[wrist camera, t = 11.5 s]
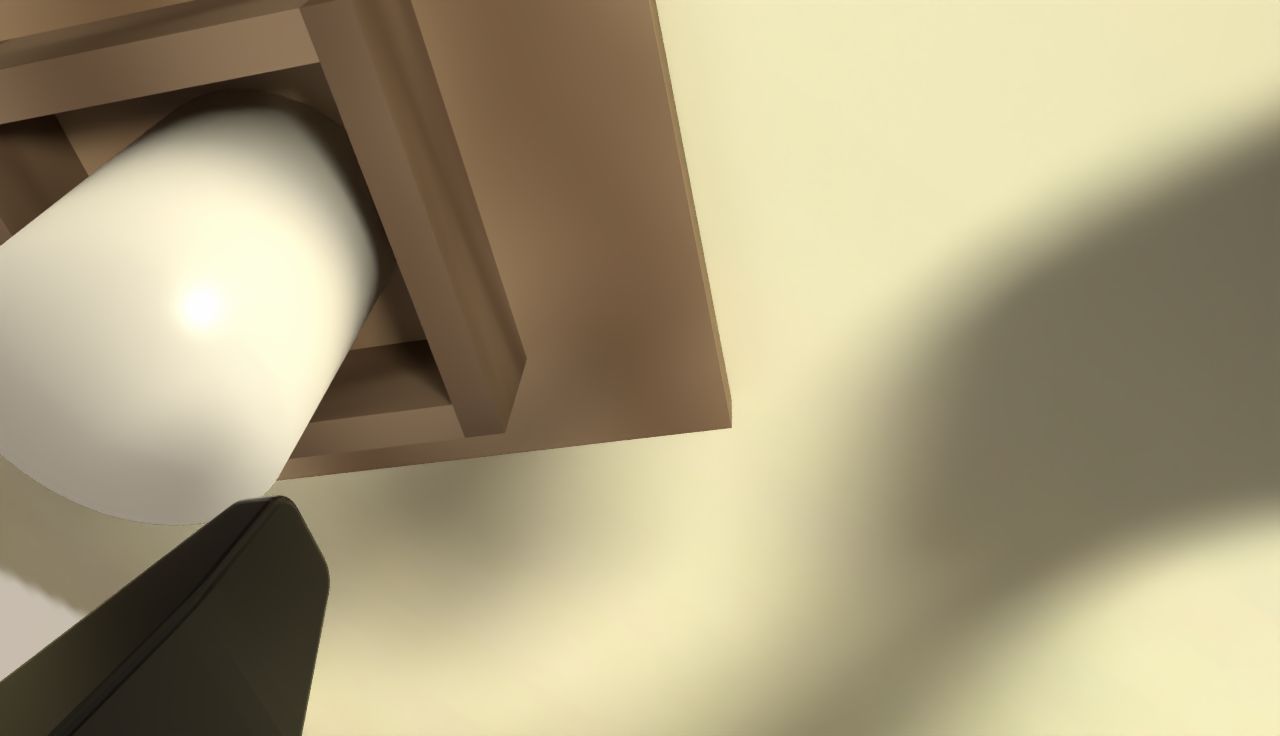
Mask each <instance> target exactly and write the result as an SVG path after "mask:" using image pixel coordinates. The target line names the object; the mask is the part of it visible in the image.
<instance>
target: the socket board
mask: <svg viewBox="0 0 1280 736" xmlns="http://www.w3.org/2000/svg"><path fill="white" fill-rule="evenodd" d="M228 89H253V90H259V91H266V92H271V93H275V94H279V95H282V96H286V97H289V98H291V99H294V100H296V101H299V102H301V103H304V104H306V105H308V106H310V107H312V108H313V109H315V110H317V111H319V112H321V113H323V114H324V115H326V116H327V117H329V118H330V119H332V120H333V121H334V122H336V123H337V124H339V125H340V126H341V127H342V128H343V129H345V130H346V131H347V134H348V136H349V139H350V142H351V144H352V147H353V149H354V152H355V155H356V157H357V160H358V162H359V165H360V167H361V170H362V173H363V175H364V178H365V180H366V183H367V186H368V188H369V191H370V193H371V196H372V199H373V201H374V204H375V206H376V209H377V211H378V214H379V217H380V219H381V222H382V224H383V227H384V230H385V232H386V235H387V237H388V240H389V242H390V245H391V248H392V250H393V253H394V255H395V258H396V264H395V267H394V270H393V272H392V274H391V276H390V278H389V280H388V282H387V284H386V285H385V287H384V289H383V291H382V293H381V294H380V296H379V298H378V300H377V301H376V303H375V305H374V307H373V309H372V310H371V312H370V314H369V316H368V318H367V319H366V321H365V323H364V325H363V326H362V328H361V330H360V332H359V334H358V335H357V337H356V339H355V341H354V343H353V344H352V346H351V348H350V350H349V351H348V353H347V355H346V357H345V359H344V360H343V362H342V364H341V366H340V368H339V369H338V371H337V373H336V375H335V377H334V378H333V380H332V382H331V384H330V385H329V387H328V389H327V391H326V393H325V394H324V396H323V398H322V400H321V402H320V403H319V405H318V407H317V409H316V410H315V412H314V414H313V416H312V418H311V419H310V421H309V423H308V425H307V427H306V428H305V430H304V432H303V434H302V436H301V437H300V439H299V441H298V443H297V444H296V446H295V448H294V450H293V452H292V453H291V455H290V457H289V459H288V461H287V462H286V464H285V466H284V468H283V469H282V471H281V473H280V475H279V477H278V478H277V480H276V481H278V480H286V479H295V478H304V477H312V476H321V475H330V474H338V473H347V472H355V471H364V470H373V469H381V468H390V467H398V466H407V465H416V464H424V463H433V462H441V461H450V460H459V459H467V458H476V457H484V456H493V455H502V454H510V453H519V452H528V451H536V450H545V449H553V448H562V447H571V446H579V445H588V444H596V443H605V442H614V441H622V440H631V439H639V438H648V437H657V436H665V435H674V434H682V433H691V432H700V431H708V430H717V429H726V428H732V405H731V395H730V390H729V385H728V379H727V374H726V369H725V364H724V358H723V353H722V348H721V343H720V337H719V332H718V327H717V322H716V316H715V311H714V306H713V301H712V295H711V290H710V285H709V280H708V274H707V269H706V264H705V259H704V253H703V248H702V243H701V238H700V232H699V227H698V222H697V217H696V211H695V206H694V201H693V196H692V190H691V185H690V180H689V175H688V169H687V164H686V159H685V154H684V148H683V143H682V138H681V133H680V127H679V122H678V117H677V112H676V106H675V101H674V96H673V91H672V85H671V80H670V75H669V70H668V64H667V59H666V54H665V49H664V43H663V38H662V33H661V28H660V22H659V17H658V12H657V7H656V1H655V0H0V246H1V245H2V244H4V243H5V242H6V241H7V240H9V239H10V238H11V237H12V236H14V235H15V234H16V233H18V232H19V231H20V230H21V229H23V228H24V227H25V226H26V225H28V224H29V223H30V222H32V221H33V220H34V219H35V218H37V217H38V216H39V215H40V214H42V213H43V212H44V211H46V210H47V209H48V208H49V207H51V206H52V205H53V204H54V203H56V202H57V201H58V200H60V199H61V198H62V197H63V196H65V195H66V194H67V193H69V192H70V191H71V190H72V189H74V188H75V187H76V186H77V185H79V184H80V183H81V182H83V181H84V180H85V179H86V178H88V177H89V176H90V175H91V174H93V173H94V172H95V171H97V170H98V169H99V168H100V167H102V166H103V165H104V164H105V163H107V162H108V161H109V160H111V159H112V158H113V157H114V156H116V155H117V154H118V153H119V152H121V151H122V150H123V149H125V148H126V147H127V146H128V145H130V144H131V143H132V142H133V141H135V140H136V139H137V138H139V137H140V136H141V135H142V134H144V133H145V132H146V131H147V130H149V129H150V128H151V127H153V126H154V125H155V124H156V123H158V122H159V121H160V120H162V119H163V118H164V117H165V116H167V115H168V114H169V113H170V112H172V111H173V110H174V109H176V108H177V107H179V106H180V105H182V104H183V103H185V102H186V101H189V100H191V99H193V98H195V97H198V96H200V95H203V94H207V93H210V92H214V91H220V90H228Z"/></svg>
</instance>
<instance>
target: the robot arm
mask: <svg viewBox="0 0 1280 736" xmlns="http://www.w3.org/2000/svg"><path fill="white" fill-rule="evenodd" d="M329 587H330V578H329V571H328V567H327V563H326V561H325V559H324V557H323V555H322V553H321V551H320V549H319V547H318V545H317V544H316V542H315V540H314V538H313V536H312V534H311V532H310V531H309V529H308V527H307V525H306V523H305V521H304V519H303V517H302V516H301V514H300V512H299V510H298V508H297V507H296V505H295V504H294V502H292V501H291V500H290V499H289V498H287V497H285V496H281V495H274V496H265V497H256V498H247V499H243V500H239V501H237V502H235V503H233V504H232V505H230V506H229V507H228V508H227V509H225V510H224V511H223V512H221V513H220V514H219V515H217V516H216V517H215V518H213V519H212V520H211V521H210V522H208V523H207V524H206V525H204V526H203V527H202V528H200V529H199V530H198V531H197V532H195V533H194V534H193V535H191V536H190V537H189V538H187V539H186V540H185V541H183V542H182V543H181V544H180V545H178V546H177V547H176V548H174V549H173V550H172V551H170V552H169V553H168V554H166V555H165V556H164V557H163V558H161V559H160V560H159V561H157V562H156V563H155V564H153V565H152V566H151V567H149V568H148V569H147V570H146V571H144V572H143V573H142V574H140V575H139V576H138V577H136V578H135V579H134V580H132V581H131V582H130V583H129V584H127V585H126V586H125V587H123V588H122V589H121V590H119V591H118V592H117V593H116V594H114V595H113V596H112V597H110V598H109V599H108V600H106V601H105V602H104V603H102V604H101V605H100V606H99V607H97V608H96V609H95V610H93V611H92V612H91V613H89V614H88V615H87V616H85V617H84V618H83V619H82V620H80V621H79V622H78V623H76V624H75V625H74V626H73V627H71V628H70V629H68V630H67V631H66V632H65V633H63V634H62V635H61V636H59V637H58V638H57V639H55V640H54V641H53V642H51V643H50V644H49V645H48V646H46V647H45V648H44V649H43V650H41V651H40V652H39V653H37V654H36V655H35V656H33V657H32V658H31V659H29V660H28V661H27V662H25V663H24V664H23V665H22V666H20V667H19V668H18V669H16V670H15V671H14V672H13V673H11V674H10V675H8V676H7V677H6V678H4V679H3V680H2V681H1V682H0V736H302V731H303V726H304V721H305V716H306V711H307V705H308V700H309V695H310V690H311V684H312V679H313V674H314V669H315V663H316V658H317V653H318V648H319V642H320V637H321V632H322V627H323V621H324V616H325V611H326V606H327V600H328V595H329Z"/></svg>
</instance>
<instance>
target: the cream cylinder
mask: <svg viewBox="0 0 1280 736" xmlns="http://www.w3.org/2000/svg"><path fill="white" fill-rule="evenodd" d="M395 264H396V258H395V255H394V253H393V250H392V248H391V245H390V242H389V240H388V237H387V235H386V232H385V230H384V227H383V224H382V222H381V219H380V217H379V214H378V211H377V209H376V206H375V204H374V201H373V199H372V196H371V193H370V191H369V188H368V186H367V183H366V180H365V178H364V175H363V173H362V170H361V167H360V165H359V162H358V160H357V157H356V155H355V152H354V149H353V147H352V144H351V142H350V139H349V136H348V134H347V131H346V130H345V129H343V128H342V127H341V126H340V125H339V124H337V123H336V122H334V121H333V120H332V119H330V118H329V117H327V116H326V115H324V114H323V113H321V112H319V111H317V110H315V109H313V108H312V107H310V106H308V105H306V104H304V103H301V102H299V101H296V100H294V99H291V98H289V97H286V96H282V95H279V94H275V93H271V92H266V91H259V90H253V89H228V90H220V91H214V92H210V93H207V94H203V95H200V96H198V97H195V98H193V99H191V100H189V101H186V102H185V103H183V104H182V105H180V106H179V107H177V108H176V109H174V110H173V111H172V112H170V113H169V114H168V115H167V116H165V117H164V118H163V119H162V120H160V121H159V122H158V123H156V124H155V125H154V126H153V127H151V128H150V129H149V130H147V131H146V132H145V133H144V134H142V135H141V136H140V137H139V138H137V139H136V140H135V141H133V142H132V143H131V144H130V145H128V146H127V147H126V148H125V149H123V150H122V151H121V152H119V153H118V154H117V155H116V156H114V157H113V158H112V159H111V160H109V161H108V162H107V163H105V164H104V165H103V166H102V167H100V168H99V169H98V170H97V171H95V172H94V173H93V174H91V175H90V176H89V177H88V178H86V179H85V180H84V181H83V182H81V183H80V184H79V185H77V186H76V187H75V188H74V189H72V190H71V191H70V192H69V193H67V194H66V195H65V196H63V197H62V198H61V199H60V200H58V201H57V202H56V203H54V204H53V205H52V206H51V207H49V208H48V209H47V210H46V211H44V212H43V213H42V214H40V215H39V216H38V217H37V218H35V219H34V220H33V221H32V222H30V223H29V224H28V225H26V226H25V227H24V228H23V229H21V230H20V231H19V232H18V233H16V234H15V235H14V236H12V237H11V238H10V239H9V240H7V241H6V242H5V243H4V244H2V245H1V246H0V454H1V455H2V456H3V457H4V458H6V459H7V460H8V461H9V462H10V463H11V464H13V465H14V466H15V467H16V468H18V469H19V470H20V471H22V472H23V473H25V474H26V475H27V476H29V477H30V478H32V479H33V480H35V481H36V482H38V483H39V484H41V485H43V486H44V487H46V488H48V489H49V490H51V491H53V492H55V493H57V494H59V495H61V496H63V497H65V498H67V499H69V500H71V501H73V502H75V503H77V504H80V505H82V506H85V507H87V508H90V509H92V510H95V511H98V512H101V513H104V514H107V515H110V516H113V517H117V518H122V519H126V520H130V521H135V522H142V523H149V524H156V525H192V524H200V523H206V522H210V521H211V520H212V519H213V518H215V517H216V516H217V515H219V514H220V513H221V512H223V511H224V510H225V509H227V508H228V507H229V506H230V505H232V504H233V503H235V502H237V501H239V500H243V499H247V498H256V497H262V496H263V495H264V494H265V493H266V492H267V491H268V490H269V489H270V488H271V486H272V485H273V484H274V482H275V481H276V480H277V478H278V477H279V475H280V473H281V471H282V469H283V468H284V466H285V464H286V462H287V461H288V459H289V457H290V455H291V453H292V452H293V450H294V448H295V446H296V444H297V443H298V441H299V439H300V437H301V436H302V434H303V432H304V430H305V428H306V427H307V425H308V423H309V421H310V419H311V418H312V416H313V414H314V412H315V410H316V409H317V407H318V405H319V403H320V402H321V400H322V398H323V396H324V394H325V393H326V391H327V389H328V387H329V385H330V384H331V382H332V380H333V378H334V377H335V375H336V373H337V371H338V369H339V368H340V366H341V364H342V362H343V360H344V359H345V357H346V355H347V353H348V351H349V350H350V348H351V346H352V344H353V343H354V341H355V339H356V337H357V335H358V334H359V332H360V330H361V328H362V326H363V325H364V323H365V321H366V319H367V318H368V316H369V314H370V312H371V310H372V309H373V307H374V305H375V303H376V301H377V300H378V298H379V296H380V294H381V293H382V291H383V289H384V287H385V285H386V284H387V282H388V280H389V278H390V276H391V274H392V272H393V270H394V267H395Z"/></svg>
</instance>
